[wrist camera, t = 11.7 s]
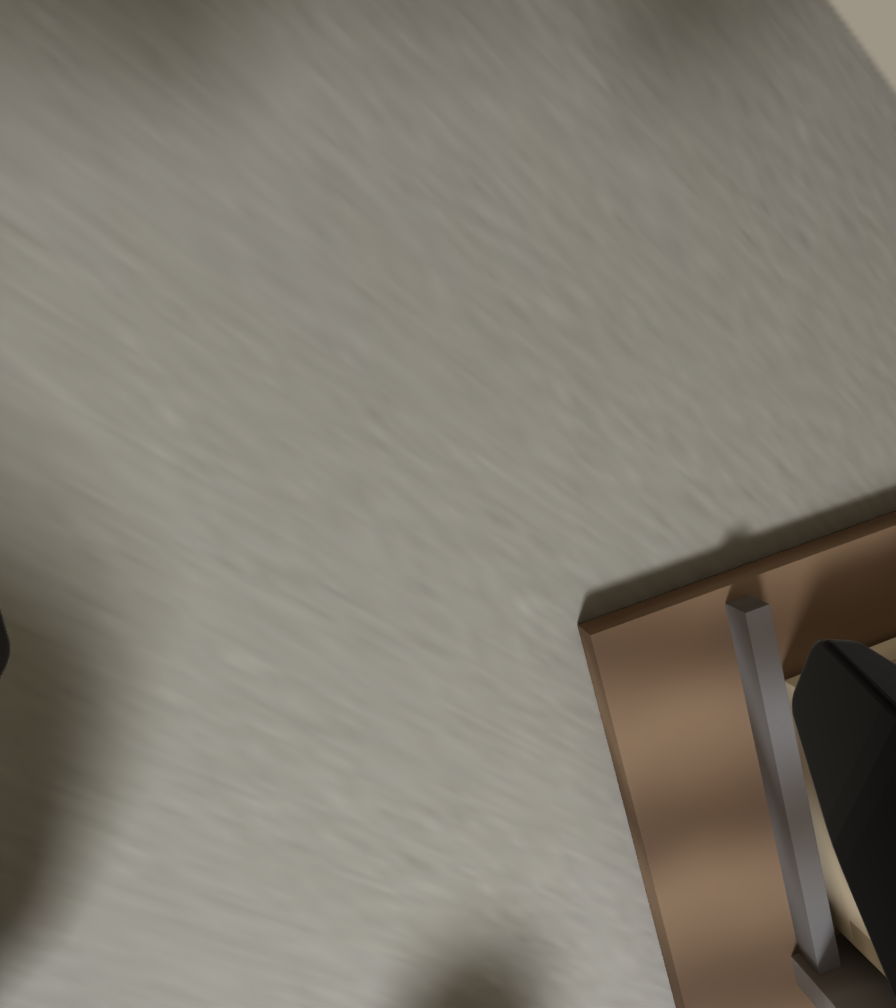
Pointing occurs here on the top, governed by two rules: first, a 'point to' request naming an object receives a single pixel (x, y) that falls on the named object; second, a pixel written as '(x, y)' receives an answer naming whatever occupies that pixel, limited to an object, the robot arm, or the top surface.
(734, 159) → the top surface
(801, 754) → the light wooden tray
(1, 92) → the top surface
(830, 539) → the open wooden tray
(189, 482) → the top surface
